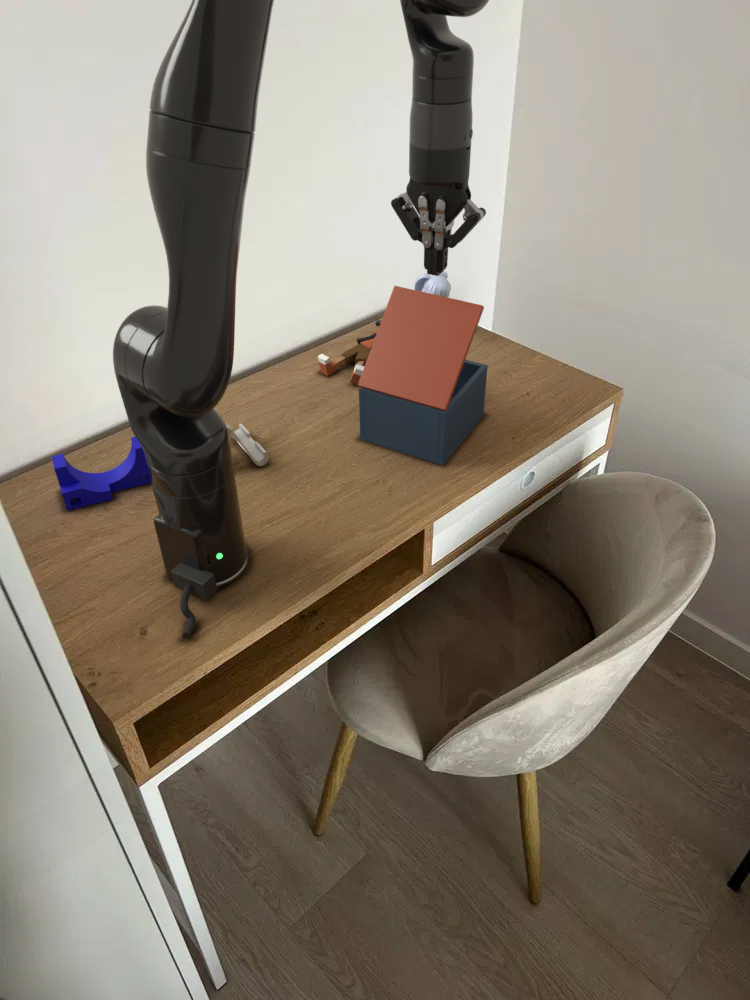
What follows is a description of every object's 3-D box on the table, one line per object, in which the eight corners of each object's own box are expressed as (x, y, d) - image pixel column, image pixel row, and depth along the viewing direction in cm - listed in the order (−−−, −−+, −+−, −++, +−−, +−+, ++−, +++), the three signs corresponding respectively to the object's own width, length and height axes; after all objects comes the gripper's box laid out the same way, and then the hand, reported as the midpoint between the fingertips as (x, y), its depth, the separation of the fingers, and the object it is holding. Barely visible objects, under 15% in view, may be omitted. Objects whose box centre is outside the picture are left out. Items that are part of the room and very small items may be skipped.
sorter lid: (396, 287, 116) (394, 285, 115) (484, 307, 111) (483, 305, 110) (359, 386, 115) (357, 385, 114) (446, 411, 110) (445, 410, 109)
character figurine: (305, 348, 135) (383, 303, 143) (309, 372, 139) (385, 327, 147) (352, 375, 129) (432, 326, 137) (356, 400, 132) (433, 351, 140)
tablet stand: (268, 464, 116) (262, 415, 111) (217, 482, 113) (208, 432, 108) (243, 434, 122) (236, 386, 117) (194, 451, 119) (184, 403, 113)
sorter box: (405, 393, 130) (405, 344, 125) (483, 415, 125) (487, 365, 120) (359, 439, 121) (358, 388, 115) (443, 465, 115) (445, 413, 110)
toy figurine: (429, 347, 142) (432, 282, 134) (408, 333, 146) (409, 269, 138) (461, 336, 145) (464, 272, 137) (439, 322, 149) (441, 260, 141)
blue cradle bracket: (67, 510, 109) (55, 475, 105) (63, 491, 112) (51, 456, 108) (156, 487, 112) (148, 452, 109) (150, 469, 116) (141, 434, 112)
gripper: (377, 138, 99) (379, 274, 110) (478, 153, 94) (469, 294, 105) (405, 123, 104) (404, 254, 115) (503, 136, 99) (491, 272, 110)
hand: (435, 272), depth 110 cm, fingers closed
